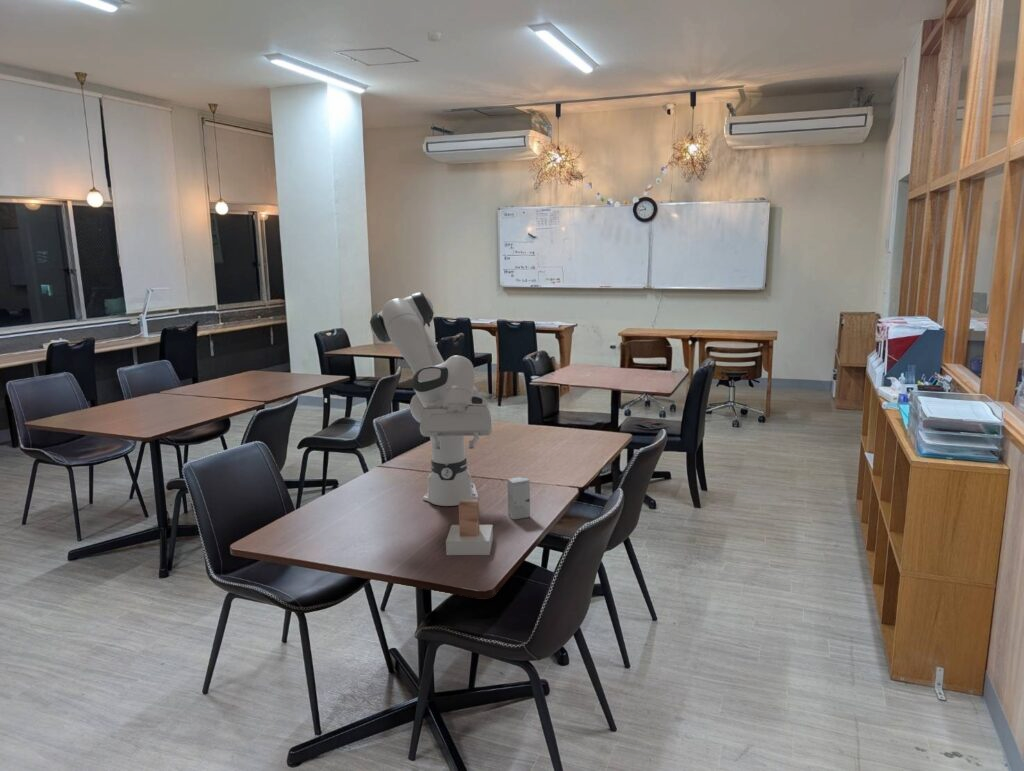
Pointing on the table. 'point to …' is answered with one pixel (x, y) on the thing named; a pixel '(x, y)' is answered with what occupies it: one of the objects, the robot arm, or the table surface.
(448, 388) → the robot arm
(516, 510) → the skincare box
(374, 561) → the table surface
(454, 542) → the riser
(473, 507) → the terracotta block
